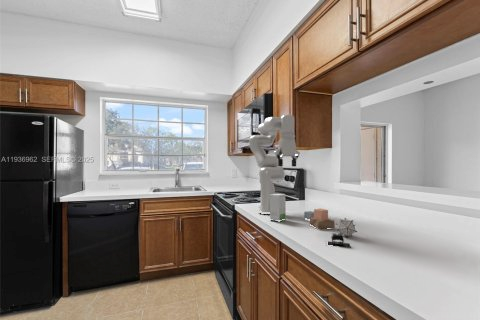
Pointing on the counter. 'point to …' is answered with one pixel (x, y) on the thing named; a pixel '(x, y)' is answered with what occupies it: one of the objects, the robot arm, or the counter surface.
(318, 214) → the terracotta cube
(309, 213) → the slate grey cube
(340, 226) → the grey spiked ball
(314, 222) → the walnut block
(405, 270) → the counter surface
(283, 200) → the skincare box
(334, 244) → the black bracket block
